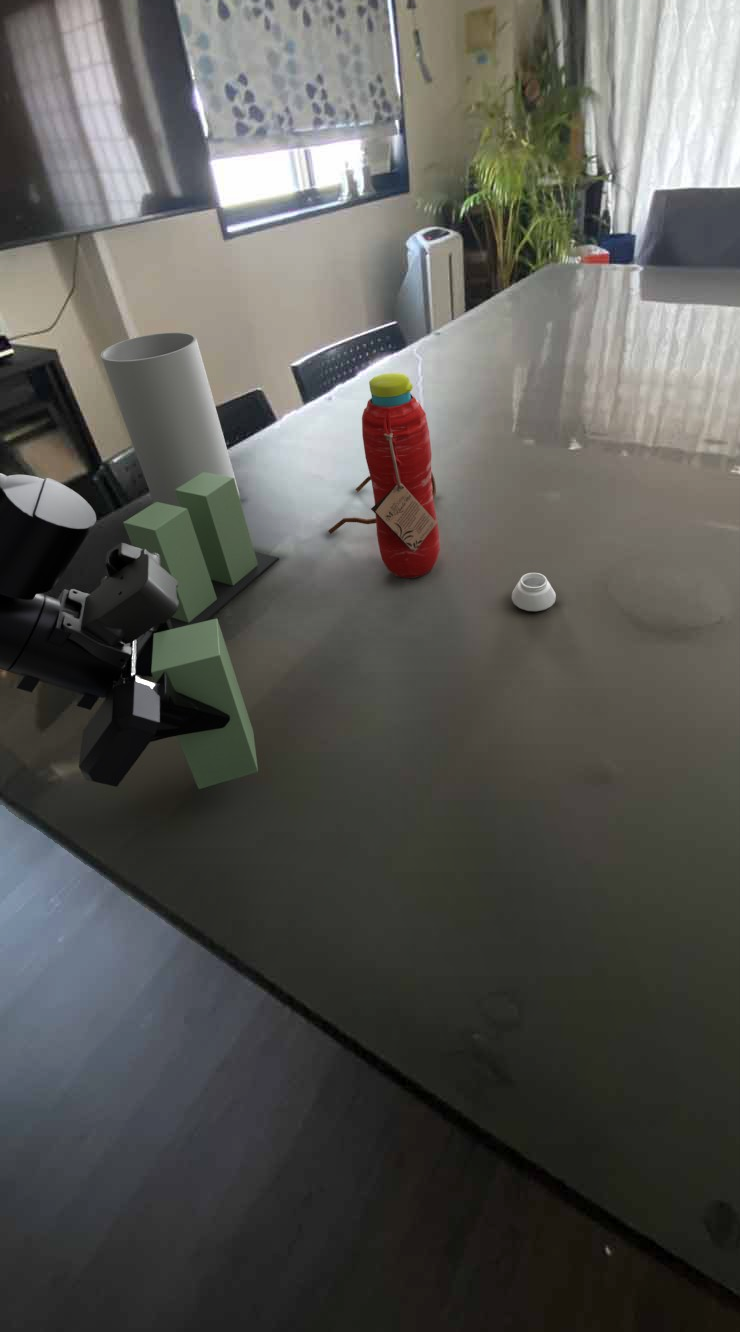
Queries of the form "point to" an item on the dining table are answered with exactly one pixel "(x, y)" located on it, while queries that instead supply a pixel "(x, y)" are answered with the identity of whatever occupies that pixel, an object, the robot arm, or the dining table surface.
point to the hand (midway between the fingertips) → (224, 699)
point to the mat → (228, 591)
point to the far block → (219, 526)
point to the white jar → (533, 593)
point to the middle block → (175, 554)
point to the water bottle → (400, 476)
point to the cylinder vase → (167, 410)
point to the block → (207, 700)
